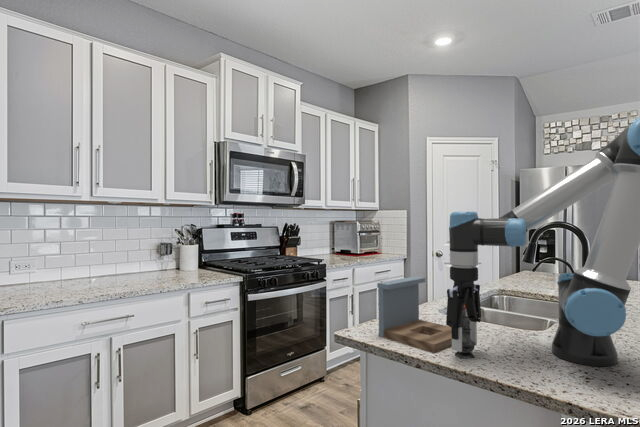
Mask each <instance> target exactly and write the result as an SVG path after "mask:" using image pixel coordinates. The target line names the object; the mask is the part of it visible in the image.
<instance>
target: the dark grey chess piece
mask: <svg viewBox="0 0 640 427" xmlns="http://www.w3.org/2000/svg"><path fill="white" fill-rule="evenodd" d="M465 315H466V316H465ZM460 327H461V328H462V352H459V351H455V353H454V356H455V357H456V358H460V359H463V360H471V359H474V358H475V357H476V356H475V354H474V353H472V352H473V351H474V350H475V345H476V343H475V342H473V341H471V339H470V331H471V329H470V319H469V318H468V315H467V313H466V314H465V313H463V316H462V318H461V324H460ZM476 346H477V345H476Z"/></svg>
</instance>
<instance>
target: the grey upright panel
mask: <svg viewBox="0 0 640 427" xmlns="http://www.w3.org/2000/svg"><path fill="white" fill-rule="evenodd" d="M423 283H426V277H422V276H409V277H405V278H399V279H392V280H387V281H382V282H377V283H376V284H377V285H376V287H377V289H378V291H377V292H378V294H377V295H378V336H379V337H381V338H383V339H385V338H384V330H385V329H388V328H392V327H395V326H399V325H402V324H405V323H409V322H412V321H416V320H420V313H419V312H420V304H419V303H420V302H419V301H420V300H419V296H420V293H419V289H420V288H419V287H420V285H419V284H423Z"/></svg>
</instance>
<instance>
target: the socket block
mask: <svg viewBox="0 0 640 427" xmlns="http://www.w3.org/2000/svg"><path fill="white" fill-rule="evenodd" d="M383 339H387V340H391V341H394V342H397V343H400V344H404V345H407V346H411V347H413V348H415V349H420V350H423V351H425V352H426V351H427V352H429V353H432V354H436V353H438V352H441V351H443V350H446V349H449V348H452V332H451V327H449V326H448V325H443V324H439V323H435V322H432V321H427V320H423V319H419V320H416V321H412V322H409V323H405V324H402V325H399V326H395V327H392V328H388V329H385V330H384V338H383Z"/></svg>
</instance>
